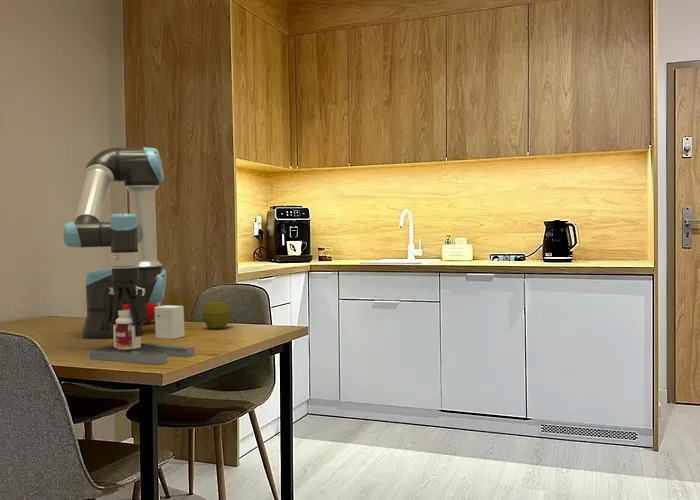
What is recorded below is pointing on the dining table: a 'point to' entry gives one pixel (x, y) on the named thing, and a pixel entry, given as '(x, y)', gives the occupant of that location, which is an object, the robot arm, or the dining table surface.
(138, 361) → the grey u-shaped frame
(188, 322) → the dining table surface
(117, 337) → the pill bottle
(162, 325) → the small box
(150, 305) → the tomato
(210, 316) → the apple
